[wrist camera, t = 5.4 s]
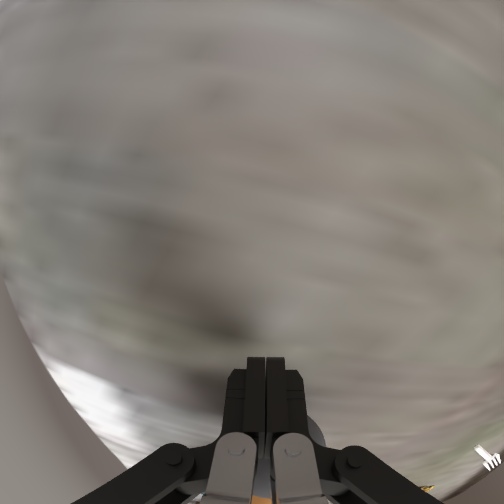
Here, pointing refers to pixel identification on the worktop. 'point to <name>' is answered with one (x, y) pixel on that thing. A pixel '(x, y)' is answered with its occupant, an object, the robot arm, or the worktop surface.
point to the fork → (487, 456)
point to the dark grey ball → (263, 467)
